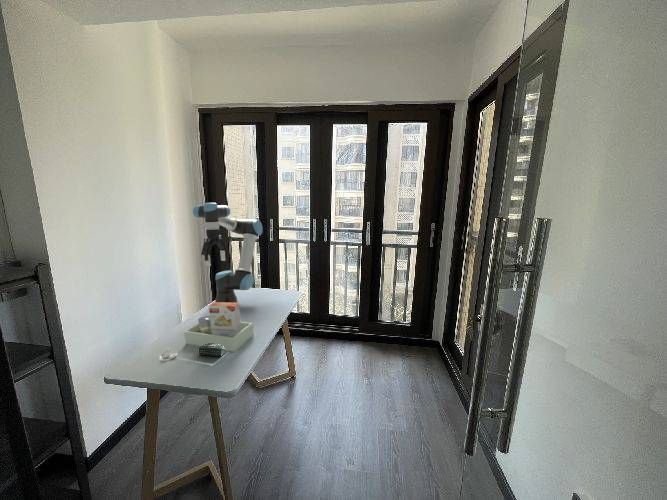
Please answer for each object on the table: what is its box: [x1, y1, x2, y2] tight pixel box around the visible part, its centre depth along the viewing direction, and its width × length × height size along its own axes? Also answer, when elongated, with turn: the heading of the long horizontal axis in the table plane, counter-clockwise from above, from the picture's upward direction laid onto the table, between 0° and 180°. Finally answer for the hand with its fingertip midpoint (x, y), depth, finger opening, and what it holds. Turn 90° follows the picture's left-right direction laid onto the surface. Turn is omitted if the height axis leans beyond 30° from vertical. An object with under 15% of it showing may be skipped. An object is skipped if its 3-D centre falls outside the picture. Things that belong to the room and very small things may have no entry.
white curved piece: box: [158, 347, 179, 362], centre depth 136 cm, size 9×8×4 cm
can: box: [197, 315, 212, 335], centre depth 152 cm, size 7×7×11 cm
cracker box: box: [208, 301, 242, 338], centre depth 147 cm, size 14×6×21 cm, turn 87°
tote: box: [183, 321, 254, 353], centre depth 150 cm, size 18×30×8 cm, turn 74°
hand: (216, 263), depth 170 cm, fingers open, 13 cm apart
